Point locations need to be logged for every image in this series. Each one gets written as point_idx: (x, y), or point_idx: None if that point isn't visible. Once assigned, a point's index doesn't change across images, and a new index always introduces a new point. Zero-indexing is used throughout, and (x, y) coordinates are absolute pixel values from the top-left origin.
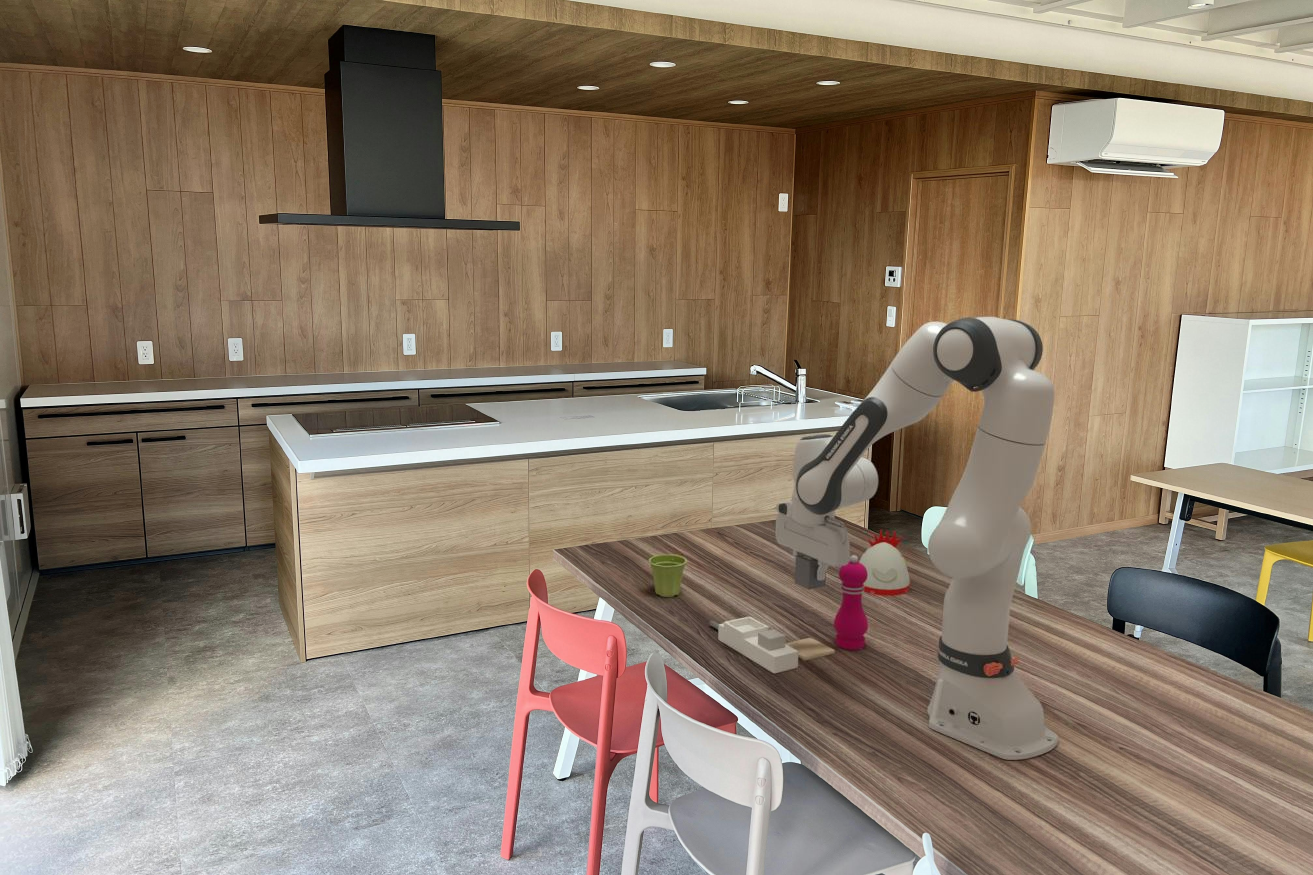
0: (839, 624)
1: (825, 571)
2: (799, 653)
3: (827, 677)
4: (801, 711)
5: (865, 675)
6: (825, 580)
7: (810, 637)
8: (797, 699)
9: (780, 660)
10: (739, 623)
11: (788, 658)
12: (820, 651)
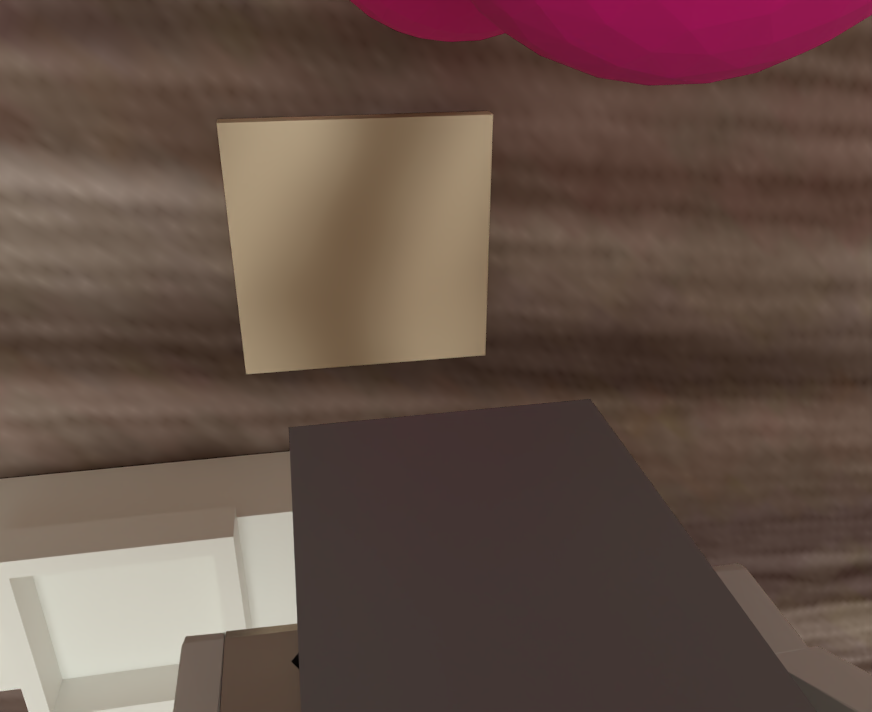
0: (472, 40)
1: (821, 656)
2: (418, 350)
3: (703, 360)
4: (836, 607)
5: (818, 162)
6: (621, 443)
7: (217, 123)
8: (764, 578)
9: None
10: (37, 623)
11: None
12: (459, 217)
